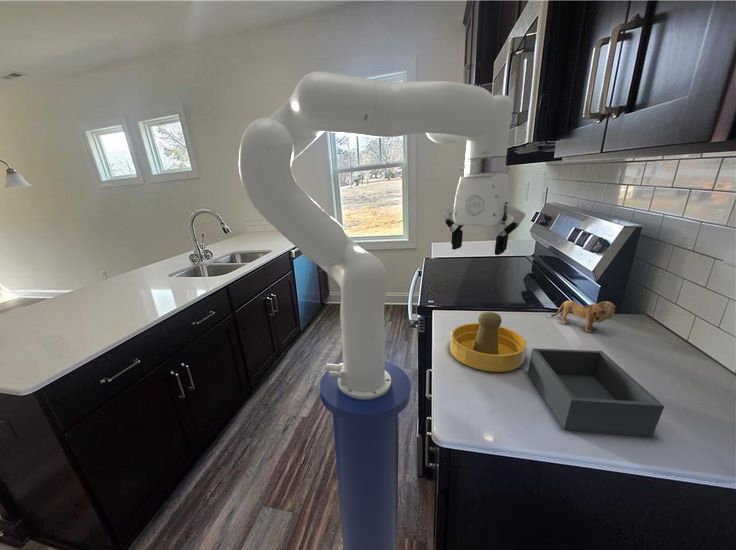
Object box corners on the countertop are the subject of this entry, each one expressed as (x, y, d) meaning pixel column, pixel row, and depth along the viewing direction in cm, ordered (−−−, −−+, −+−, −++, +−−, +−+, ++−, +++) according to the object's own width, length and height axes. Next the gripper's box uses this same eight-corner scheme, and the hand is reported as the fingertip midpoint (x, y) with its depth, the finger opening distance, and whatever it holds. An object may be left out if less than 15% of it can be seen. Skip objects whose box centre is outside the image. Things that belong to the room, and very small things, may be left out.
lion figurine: (612, 331, 88) (620, 301, 85) (604, 337, 86) (613, 306, 82) (553, 315, 100) (559, 288, 96) (545, 320, 97) (551, 292, 94)
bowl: (455, 370, 76) (457, 354, 74) (446, 336, 91) (447, 322, 90) (534, 374, 72) (538, 357, 71) (510, 338, 88) (513, 323, 86)
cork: (476, 358, 79) (481, 318, 75) (470, 346, 85) (474, 308, 81) (501, 359, 78) (508, 319, 74) (494, 346, 84) (499, 308, 80)
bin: (563, 429, 57) (571, 400, 54) (527, 373, 73) (532, 348, 70) (652, 437, 54) (664, 406, 52) (594, 376, 70) (601, 350, 68)
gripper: (436, 171, 68) (433, 249, 74) (523, 165, 56) (510, 260, 62) (454, 169, 73) (450, 243, 79) (539, 164, 60) (525, 252, 66)
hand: (477, 250), depth 70 cm, fingers open, 9 cm apart
